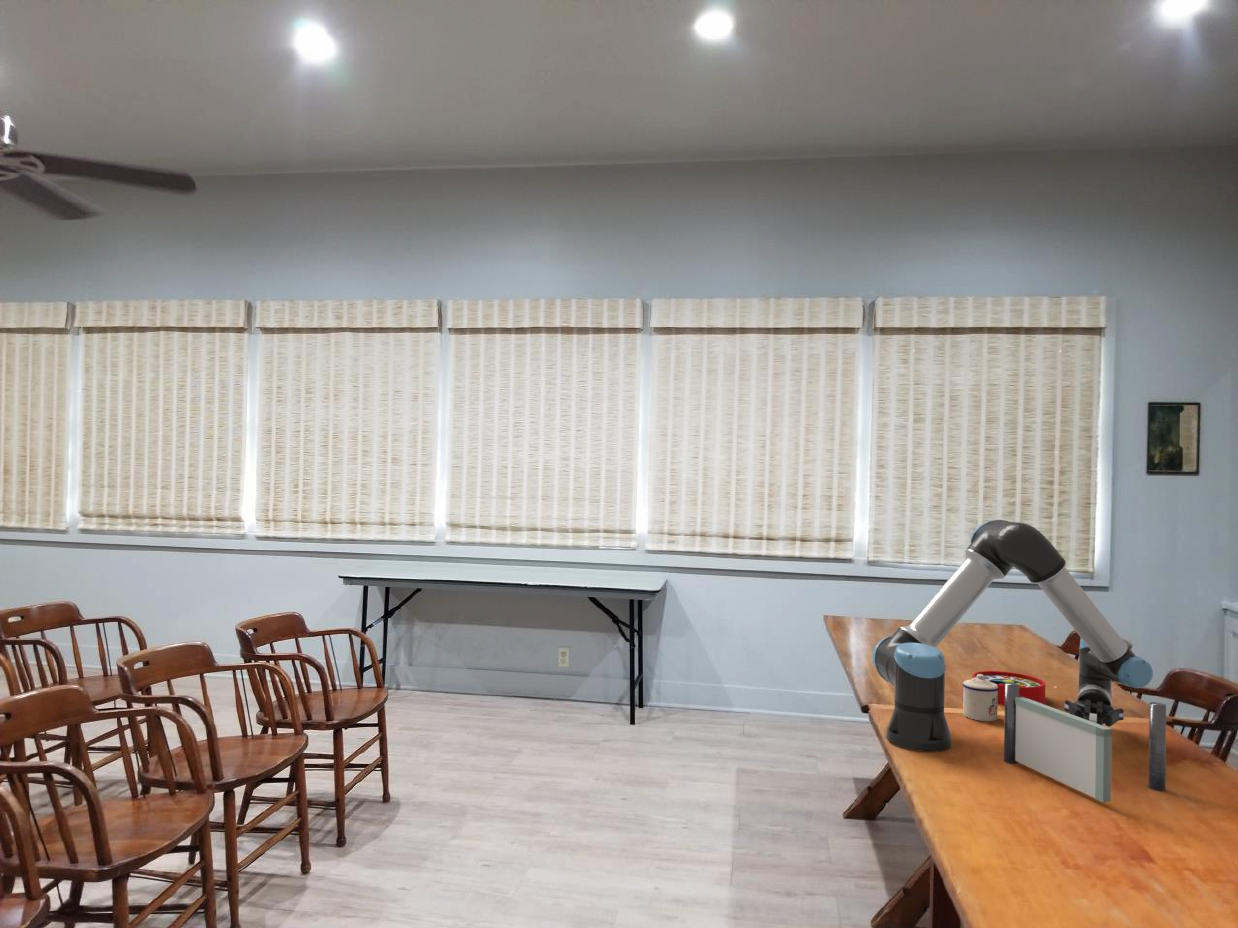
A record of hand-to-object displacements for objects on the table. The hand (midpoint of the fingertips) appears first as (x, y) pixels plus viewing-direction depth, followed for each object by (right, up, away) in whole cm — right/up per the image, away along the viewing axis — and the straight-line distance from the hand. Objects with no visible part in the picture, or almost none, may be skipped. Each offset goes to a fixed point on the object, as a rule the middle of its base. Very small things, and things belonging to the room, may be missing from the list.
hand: (1092, 725), depth 185 cm
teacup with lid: (-9, -10, +38) cm, 40 cm away
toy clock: (+9, -11, +58) cm, 60 cm away
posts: (-6, -9, -6) cm, 12 cm away
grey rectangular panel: (-14, -8, -12) cm, 20 cm away
